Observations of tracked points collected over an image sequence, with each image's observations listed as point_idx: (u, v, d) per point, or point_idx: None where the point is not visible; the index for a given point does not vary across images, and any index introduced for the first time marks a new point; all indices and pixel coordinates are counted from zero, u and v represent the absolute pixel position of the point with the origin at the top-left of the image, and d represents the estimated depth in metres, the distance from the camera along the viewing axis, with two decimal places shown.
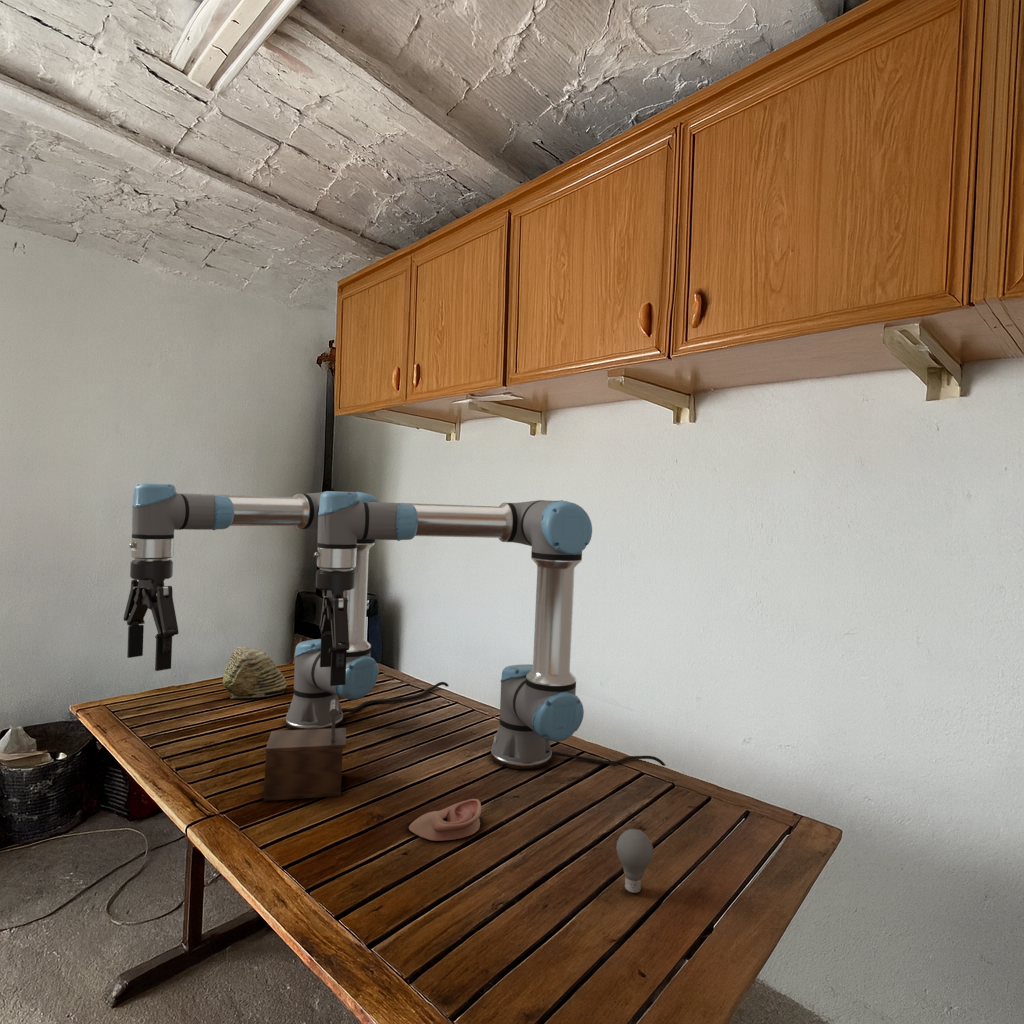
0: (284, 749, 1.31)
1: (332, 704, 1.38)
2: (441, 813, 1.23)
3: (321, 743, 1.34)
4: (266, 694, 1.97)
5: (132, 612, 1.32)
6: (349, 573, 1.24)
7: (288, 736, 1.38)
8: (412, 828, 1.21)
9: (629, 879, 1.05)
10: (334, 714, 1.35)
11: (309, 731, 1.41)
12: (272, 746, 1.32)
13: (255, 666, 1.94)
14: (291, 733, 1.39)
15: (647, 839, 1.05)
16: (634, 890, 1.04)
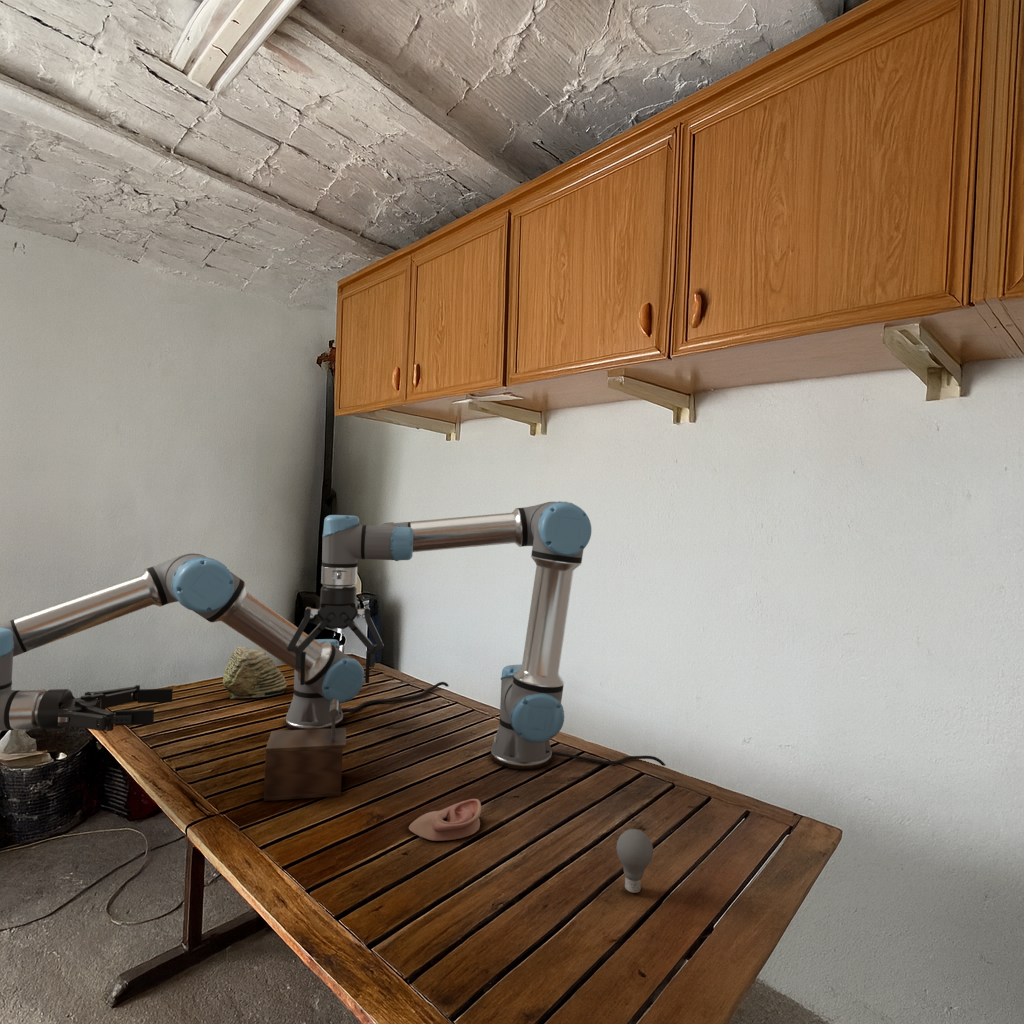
0: (284, 749, 1.31)
1: (332, 704, 1.38)
2: (441, 813, 1.23)
3: (321, 743, 1.34)
4: (266, 694, 1.97)
5: None
6: None
7: (288, 736, 1.38)
8: (412, 828, 1.21)
9: (629, 879, 1.05)
10: (334, 714, 1.35)
11: (309, 731, 1.41)
12: (272, 746, 1.32)
13: (255, 666, 1.94)
14: (291, 733, 1.39)
15: (647, 839, 1.05)
16: (634, 890, 1.04)
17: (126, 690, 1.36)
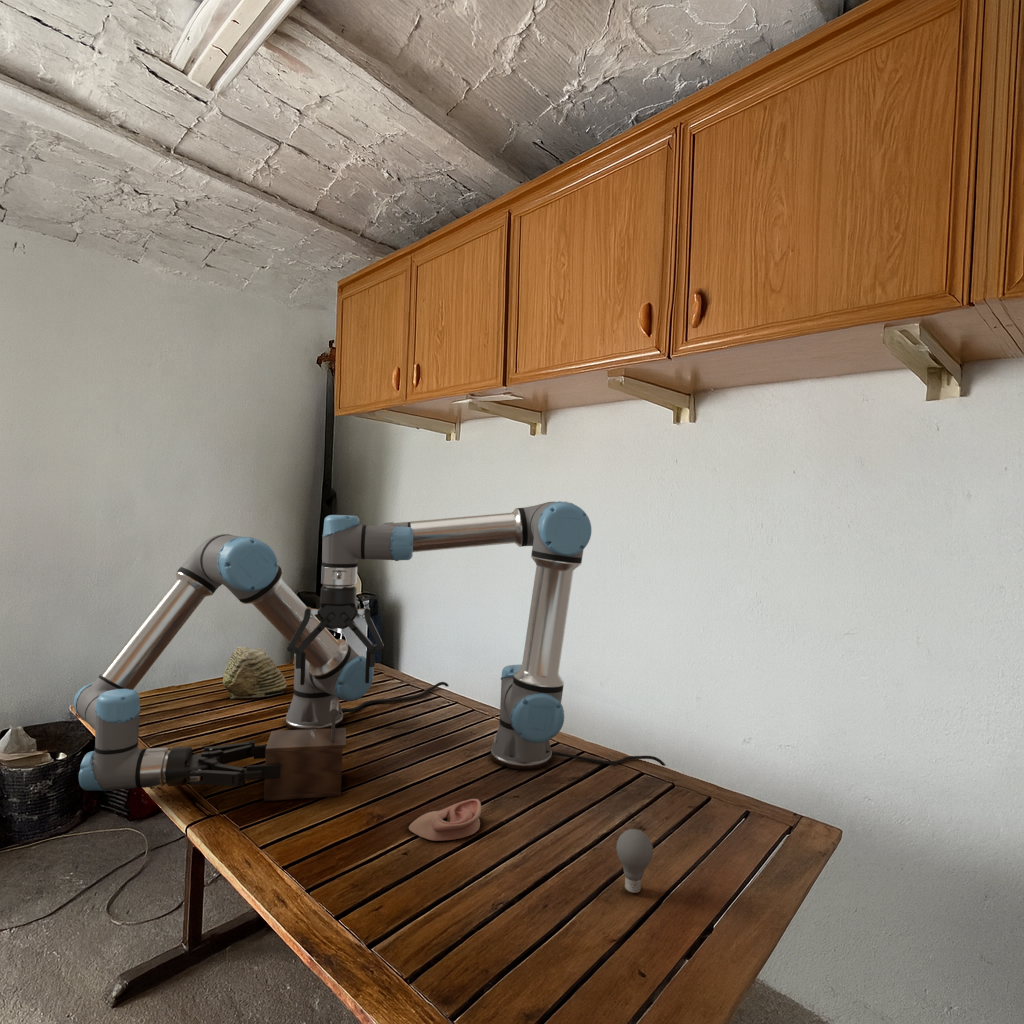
0: (284, 749, 1.31)
1: (332, 704, 1.38)
2: (441, 813, 1.23)
3: (321, 743, 1.34)
4: (266, 694, 1.97)
5: None
6: None
7: (288, 736, 1.38)
8: (412, 828, 1.21)
9: (629, 879, 1.05)
10: (334, 714, 1.35)
11: (309, 731, 1.41)
12: (272, 746, 1.32)
13: (255, 666, 1.94)
14: (291, 733, 1.39)
15: (647, 839, 1.05)
16: (634, 890, 1.04)
17: (241, 746, 1.41)
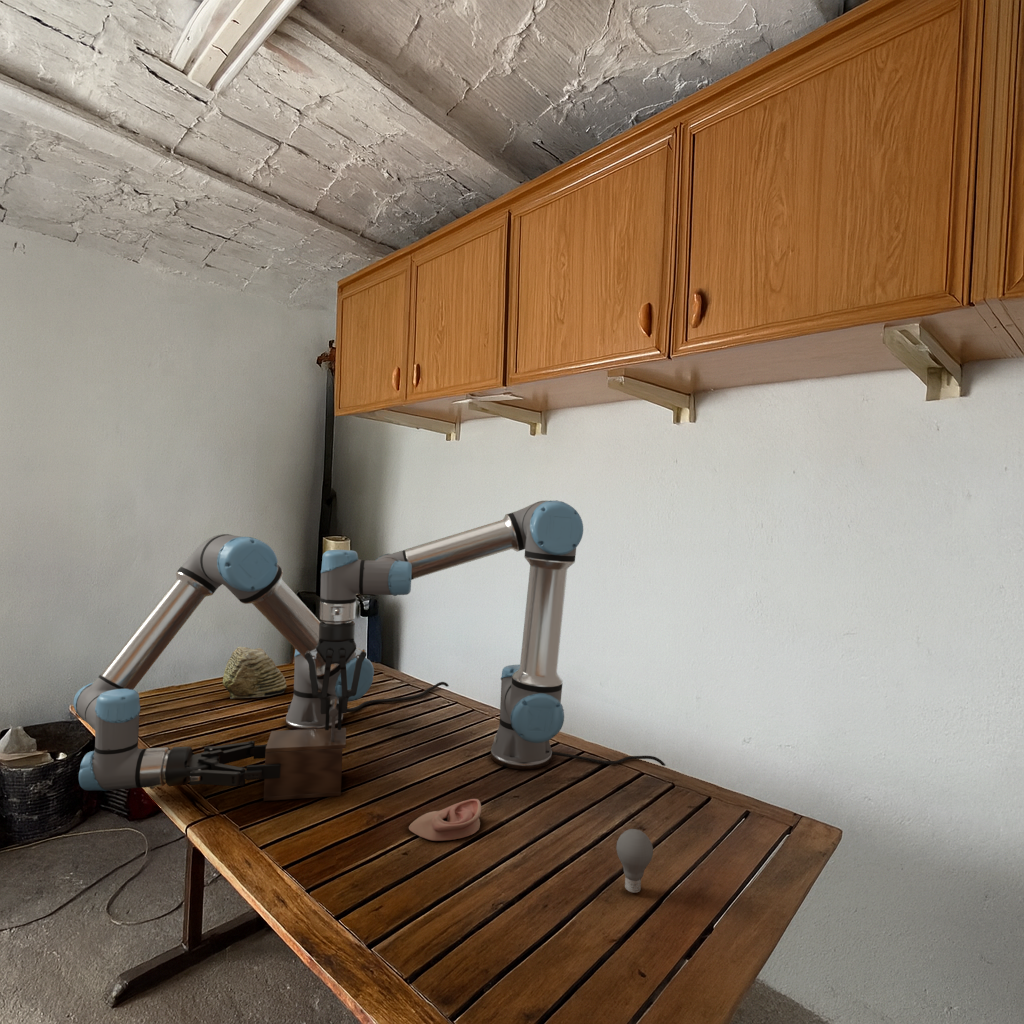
0: (284, 749, 1.31)
1: (332, 704, 1.38)
2: (441, 813, 1.23)
3: (321, 743, 1.34)
4: (266, 694, 1.97)
5: None
6: None
7: (288, 736, 1.38)
8: (412, 828, 1.21)
9: (629, 879, 1.05)
10: (334, 714, 1.35)
11: (309, 731, 1.41)
12: (272, 746, 1.32)
13: (255, 666, 1.94)
14: (291, 733, 1.39)
15: (647, 839, 1.05)
16: (634, 890, 1.04)
17: (241, 746, 1.41)
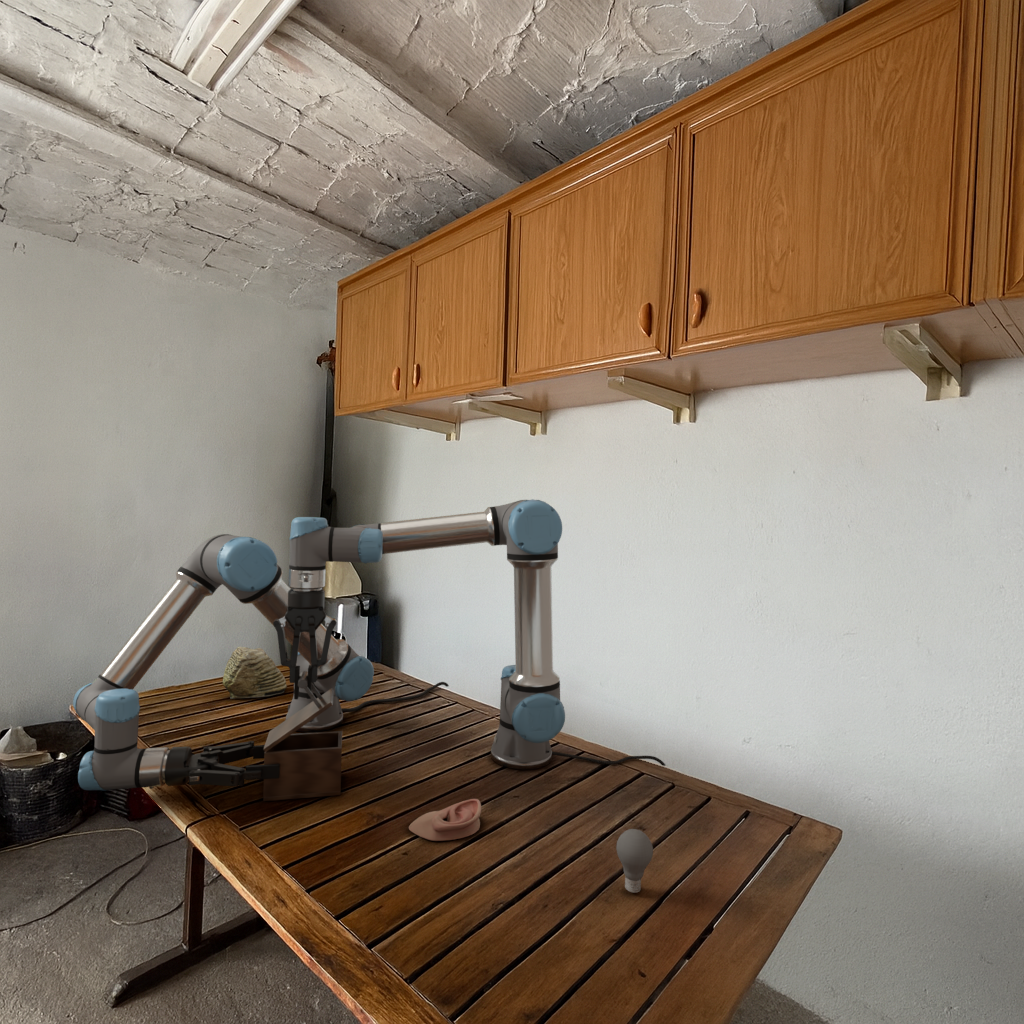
0: (280, 739, 1.31)
1: (299, 677, 1.36)
2: (441, 813, 1.23)
3: (310, 714, 1.34)
4: (266, 694, 1.97)
5: None
6: None
7: (283, 726, 1.37)
8: (412, 828, 1.21)
9: (629, 879, 1.05)
10: (303, 684, 1.34)
11: (300, 711, 1.40)
12: (269, 743, 1.32)
13: (255, 666, 1.94)
14: (286, 722, 1.39)
15: (647, 839, 1.05)
16: (634, 890, 1.04)
17: (240, 746, 1.41)
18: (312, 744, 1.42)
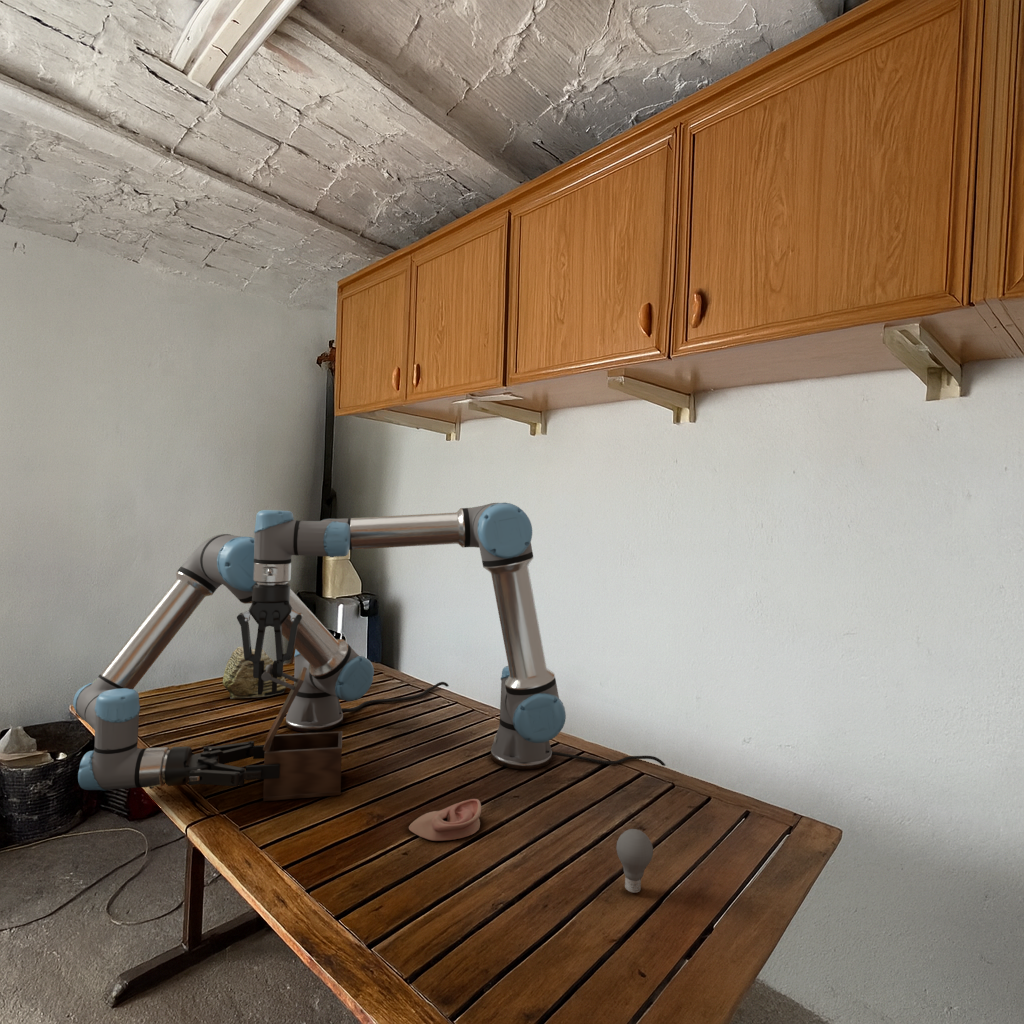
0: (273, 734, 1.31)
1: None
2: (441, 813, 1.23)
3: (289, 699, 1.33)
4: (266, 694, 1.97)
5: None
6: None
7: (275, 722, 1.37)
8: (412, 828, 1.21)
9: (629, 879, 1.05)
10: (267, 676, 1.32)
11: (285, 701, 1.39)
12: (266, 742, 1.31)
13: None
14: (277, 717, 1.38)
15: (647, 839, 1.05)
16: (634, 890, 1.04)
17: (240, 746, 1.41)
18: (312, 744, 1.42)
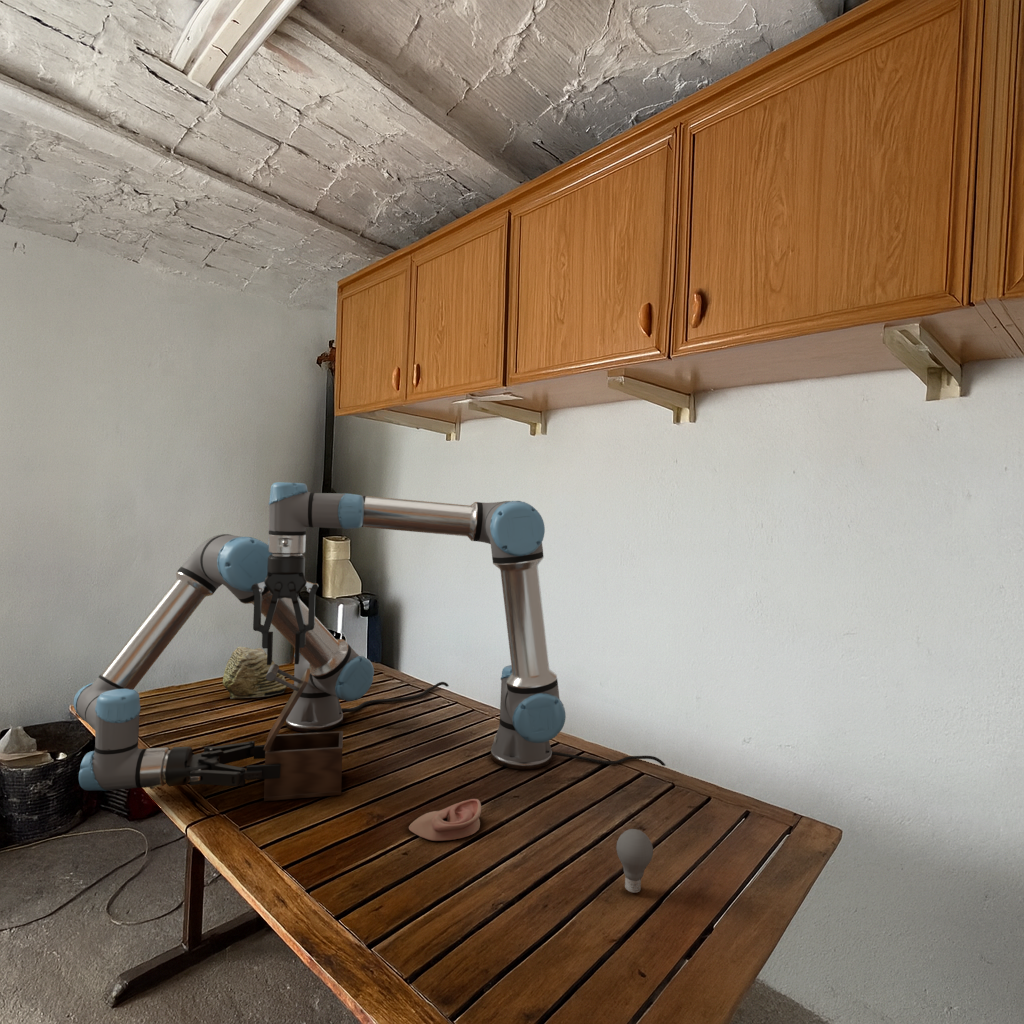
0: (274, 734, 1.31)
1: None
2: (441, 813, 1.23)
3: (292, 700, 1.33)
4: (266, 694, 1.97)
5: None
6: None
7: (276, 722, 1.37)
8: (412, 828, 1.21)
9: (629, 879, 1.05)
10: (272, 676, 1.32)
11: (288, 701, 1.40)
12: (267, 742, 1.31)
13: (255, 666, 1.94)
14: (279, 717, 1.38)
15: (647, 839, 1.05)
16: (634, 890, 1.04)
17: (241, 746, 1.41)
18: (312, 744, 1.42)
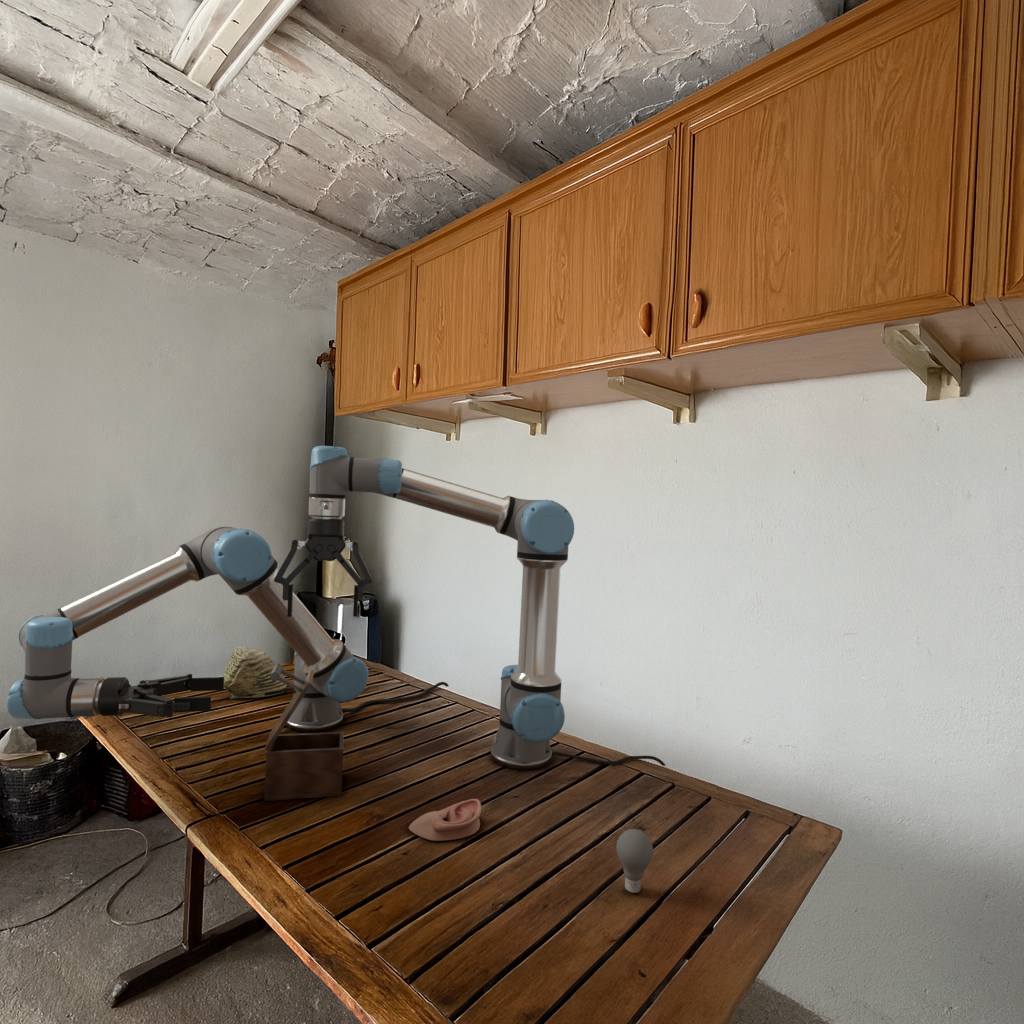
0: (276, 734, 1.31)
1: None
2: (441, 813, 1.23)
3: (295, 701, 1.33)
4: (266, 694, 1.97)
5: None
6: None
7: (278, 722, 1.37)
8: (412, 828, 1.21)
9: (629, 879, 1.05)
10: (276, 676, 1.32)
11: (290, 702, 1.40)
12: (268, 742, 1.32)
13: (255, 666, 1.94)
14: (280, 717, 1.38)
15: (647, 839, 1.05)
16: (634, 890, 1.04)
17: (179, 679, 1.38)
18: (313, 745, 1.42)
